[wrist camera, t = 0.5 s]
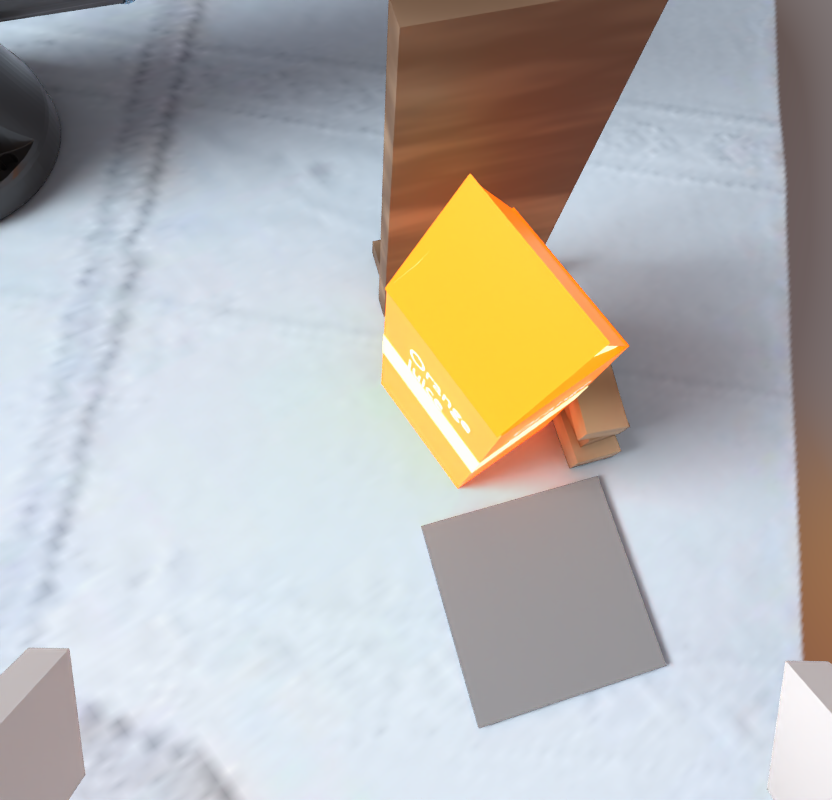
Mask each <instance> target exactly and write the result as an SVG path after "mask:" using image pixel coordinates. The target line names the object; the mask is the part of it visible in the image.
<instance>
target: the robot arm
mask: <svg viewBox="0 0 832 800" xmlns="http://www.w3.org/2000/svg"><path fill="white" fill-rule="evenodd" d="M134 1H135V0H0V22H3V21H9V20H16V19H22V18H29V17H35V16H42V15H49V14H55V13H62V12H68V11H75V10H81V9H88V8H94V7H101V6H108V5H114V4H130V3H132V2H134ZM60 138H61V130H60V122H59V117H58V114H57V111H56V109H55V106H54V104H53V102H52V100H51V99H50V97H49V96H48V94H47V93H46V91H45V90H44V88H43V86H42V85H41V83H40V82H39V80H38V79H37V77H36V76H35V75H34V73H33V72H32V71H31V70H30V69H29V68H28V66H27V65H26V64H25V63H24V62H23V61H22V60H20V59H19V58H18V57H17V56H16V55H14V54H13V53H12V52H10V51H9V50H8V49H6V48H5V47H4V46H3V45H2V44H0V220H1V219H3V218H4V217H6V216H8V215H9V214H11V213H12V212H14V211H15V210H17V209H18V208H19V207H21V206H22V205H23V204H24V203H26V202H27V201H28V200H29V199H30V198H31V197H32V196H33V195H34V194H35V193H36V192H37V191H38V190H39V188H40V187H41V186H42V185H43V183H44V182H45V180H46V179H47V177H48V176H49V174H50V172H51V170H52V168H53V166H54V164H55V161H56V159H57V156H58V152H59V147H60ZM84 776H85V769H84V761H83V753H82V745H81V737H80V729H79V721H78V713H77V705H76V697H75V689H74V681H73V673H72V665H71V658H70V650H69V648H28V649H27V650H26V651H25V652H24V653H23V654H22V655H21V656H20V657H19V658H18V659H17V660H16V661H14V662H13V663H12V664H11V665H10V666H9V667H8V668H7V669H6V670H5V671H4V672H3V673H2V674H1V675H0V800H69V799H70V797H71V796H72V794H73V793H74V791H75V790H76V788H77V787H78V785H79V784H80V782H81V780H82V779H83V777H84ZM767 790H768V792H769V794H770V795H771V797H772V798H773V800H832V665H831V664H830V663H829V662H827V661H823V662H822V661H785V668H784V675H783V682H782V688H781V695H780V702H779V709H778V716H777V723H776V729H775V736H774V743H773V750H772V757H771V764H770V770H769V777H768V784H767Z"/></svg>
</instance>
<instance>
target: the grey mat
mask: <svg viewBox="0 0 832 800" xmlns="http://www.w3.org/2000/svg"><path fill="white" fill-rule="evenodd" d="M421 528H422V531H423V535H424V538H425V542H426V545H427V549H428V552H429V556H430V559H431V563H432V566H433V570H434V573H435V577H436V581H437V584H438V588H439V591H440V595H441V598H442V602H443V605H444V609H445V612H446V616H447V619H448V623H449V626H450V630H451V633H452V637H453V640H454V644H455V648H456V651H457V655H458V658H459V662H460V665H461V669H462V672H463V676H464V679H465V683H466V686H467V690H468V693H469V697H470V700H471V704H472V707H473V711H474V715H475V718H476V722H477V725H478V728H482V727H485V726H488V725H491V724H494V723H497V722H500V721H503V720H506V719H509V718H512V717H515V716H518V715H520V714H523V713H526V712H529V711H532V710H535V709H538V708H541V707H544V706H547V705H550V704H553V703H556V702H559V701H562V700H565V699H568V698H571V697H574V696H577V695H580V694H583V693H586V692H589V691H592V690H595V689H598V688H601V687H604V686H607V685H610V684H613V683H616V682H619V681H622V680H625V679H628V678H631V677H634V676H637V675H640V674H643V673H646V672H649V671H652V670H655V669H658V668H661V667H664V666H666V663H665V660H664V657H663V655H662V652H661V649H660V646H659V644H658V641H657V638H656V635H655V633H654V630H653V627H652V624H651V622H650V619H649V616H648V613H647V610H646V608H645V605H644V602H643V599H642V597H641V594H640V591H639V588H638V586H637V583H636V580H635V577H634V575H633V572H632V569H631V566H630V564H629V561H628V558H627V555H626V553H625V550H624V547H623V544H622V542H621V539H620V536H619V533H618V531H617V528H616V525H615V522H614V520H613V517H612V514H611V511H610V508H609V506H608V503H607V500H606V497H605V495H604V492H603V489H602V486H601V484H600V481H599V478H598V476H596V477H592V478H589V479H585V480H582V481H578V482H575V483H571V484H568V485H564V486H561V487H557V488H554V489H550V490H547V491H543V492H540V493H536V494H533V495H529V496H525V497H522V498H518V499H515V500H511V501H508V502H504V503H501V504H497V505H494V506H490V507H487V508H483V509H480V510H476V511H473V512H469V513H466V514H462V515H459V516H455V517H452V518H448V519H445V520H441V521H438V522H434V523H431V524H427V525H424V526H421Z"/></svg>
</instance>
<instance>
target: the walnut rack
mask: <svg viewBox="0 0 832 800" xmlns="http://www.w3.org/2000/svg"><path fill="white" fill-rule="evenodd" d="M667 2H668V0H389V4H388V34H387V64H386V95H385V125H384V156H383V186H382V216H381V240H377V241H373V248H372V253H373V256H374V259H375V263H376V266H377V269H378V273H379V276H380V277H379V301H380V304H381V308H382V311H383V315H384V316H385V311H386V294H387V291H386V290H385V287H386V286H387V284H388V283H389V282H390V281H391V279H392V278H393V277H394V275H395V274H396V273H397V271H398V270H399V269H400V267H401V266H402V265H403V263H404V262H405V260H406V259H407V258H408V256H409V255H410V254H411V252H412V251H413V250H414V248H415V247H416V246H417V244H418V243H419V242H420V240H421V239H422V238H423V236H424V235H425V233H426V232H427V231H428V229H429V228H430V227H431V225H432V224H433V223H434V221H435V220H436V219H437V217H438V216H439V215H440V213H441V212H442V211H443V209H444V208H445V206H446V205H447V204H448V202H449V201H450V200H451V198H452V197H453V196H454V194H455V193H456V192H457V190H458V189H459V188H460V186H461V185H462V184H463V182H464V181H465V179H466V178H467V177H468V175H469V174H471V175H472V176H473V177H474V179H475V180H476V181H477V182H478V183H479V185H480V186H481V187H482V188H484V189H485V190H487V191H488V192H489V193H491V194H492V195H494V196H495V197H496V198H498V199H499V200H501V201H502V202H503V203H505V204H506V205H507V206H509V207H510V208H513V207H514V208H515V209H516V210H517V212H518V213H519V214H520V215H521V216H522V218H523V219H524V220H525V221H526V222H527V224H528V225H529V226H530V227H531V228H532V230H533V231H534V232H535V233H536V234H537V236H538V237H539V238H540V239H541V240H542V242H543V243H544V244H546V242H547V240H548V238H549V236H550V234H551V232H552V230H553V228H554V226H555V224H556V222H557V220H558V218H559V216H560V214H561V212H562V210H563V208H564V206H565V204H566V202H567V200H568V198H569V196H570V194H571V192H572V190H573V188H574V186H575V184H576V182H577V180H578V178H579V176H580V174H581V172H582V170H583V168H584V166H585V164H586V162H587V160H588V158H589V157H590V155H591V153H592V151H593V149H594V147H595V145H596V143H597V141H598V139H599V137H600V135H601V133H602V131H603V129H604V127H605V125H606V123H607V121H608V119H609V117H610V115H611V113H612V111H613V109H614V107H615V105H616V103H617V101H618V99H619V97H620V95H621V93H622V91H623V89H624V87H625V85H626V83H627V81H628V79H629V77H630V75H631V73H632V71H633V69H634V67H635V65H636V63H637V61H638V59H639V57H640V55H641V53H642V51H643V49H644V47H645V45H646V43H647V41H648V39H649V37H650V35H651V33H652V31H653V29H654V27H655V25H656V24H657V22H658V20H659V18H660V16H661V14H662V12H663V10H664V8H665V6H666V4H667ZM552 420H553V423H554V426H555V429H556V432H557V434H558V437H559V440H560V443H561V446H562V449H563V451H564V454H565V457H566V460H567V463H568V466H569V468H573V467H576V466H580V465H584V464H587V463H591V462H594V461H598V460H601V459H605V458H608V457H612V456H613V455H615V454H617V453H619V452H620V451H621V449H620V447H619V444H618V441H617V439H616V436H615V435H617V434H620V433H621V432H623V431H624V430H626V429H627V428H629V427H630V425H629V423H628V421H627V418H626V414H625V411H624V407H623V404H622V401H621V397H620V394H619V390H618V387H617V383H616V380H615V377H614V373H613V370H612V366H611V364H610V365H609V366H608V367H607V368H606V369H605V370H604V371H603V372H602V373H601V374H600V375H598V376H597V377H596V378H595V379H594V380H593V381H592V382H591V383H590V384H589V385H588V387H587V388H586V389H585V390H584V391H583V392H582V393H581V394H580V395H579V396H578V397H577V398H576V399H575V400H573V401H572V402H570V403H569V404H568V405H567V406H566V407H565V408H564V409H563V410H562V411H561V412H560V413H559V414H558V415H557V416H556V417H555V418H554V419H552Z"/></svg>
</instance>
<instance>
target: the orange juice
mask: <svg viewBox="0 0 832 800" xmlns="http://www.w3.org/2000/svg"><path fill="white" fill-rule="evenodd" d="M385 290H386V291H387V294H386V311H385V329H384V334H383V347H382V352H383V364H382V382H381V384H382V385H383V386H384V388H385V389H386V390H387V392H388V393H389V395H390V396H391V397H392V399H393V400H394V401H395V403H396V404H397V406H398V407H399V408H400V410H401V411H402V412H403V414H404V415H405V417H406V418H407V419H408V421H409V422H410V423H411V425H412V426H413V428H414V429H415V430H416V432H417V433H418V435H419V436H420V437H421V439H422V440H423V441H424V443H425V444H426V446H427V447H428V448H429V450H430V451H431V452H432V454H433V455H434V457H435V458H436V459H437V461H438V462H439V463H440V465H441V466H442V468H443V469H444V470H445V472H446V473H447V474H448V476H449V477H450V479H451V480H452V481H453V483H454V484H455V485H456V487H457V488H460V487H461V486H462V485H464V484H465V483H467V482H468V481H469V480H471V479H472V478H474V477H475V476H476V475H478V474H479V473H481V472H482V471H483V470H485V469H486V468H488V467H489V466H490V465H492V464H493V463H494V462H496V461H497V460H499V459H500V458H501V457H503V456H504V455H506V454H507V453H508V452H510V451H511V450H513V449H514V448H515V447H517V446H518V445H520V444H521V443H522V442H524V441H525V440H527V439H528V438H529V437H531V436H532V435H534V434H535V433H536V432H538V431H539V430H541V429H542V428H543V427H545V426H546V425H547V424H548V423H549V422H550V421H551V420H552V419H554V418H555V417H556V416H557V415H558V414H559V413H560V412H561V411H562V410H563V409H564V408H565V407H566V406H567V405H568V404H569V403H570V402H572V401H573V400H575V399H576V398H577V397H578V396H579V395H580V394H581V393H582V392H583V391H584V390H585V389H586V388H587V387H588V385H589V384H590V383H591V382H592V381H593V380H594V379H595V378H596V377H597V376H598V375H600V374H601V373H602V372H603V371H604V370H605V369H606V368H607V367H608V366H609V365H610V364H611V363H612V362H613V361H614V360H615V359H616V358H617V357H618V356H619V355H620V354H621V353H623V352H624V351H625V350H626V349H627V348H628V347H629V345H628V344H627V342H626V341H625V340H624V339H623V338H622V336H621V335H620V334H619V333H618V332H617V330H616V329H615V328H614V327H613V326H612V324H611V323H610V322H609V321H608V320H607V318H606V317H605V316H604V315H603V314H602V312H601V311H600V310H599V309H598V308H597V306H596V305H595V304H594V303H593V302H592V300H591V299H590V298H589V297H588V296H587V294H586V293H585V292H584V291H583V290H582V288H581V287H580V286H579V285H578V284H577V282H576V281H575V280H574V279H573V278H572V276H571V275H570V274H569V273H568V272H567V270H566V269H565V268H564V267H563V266H562V264H561V263H560V262H559V261H558V260H557V258H556V257H555V256H554V255H553V254H552V252H551V251H550V250H549V249H548V248H547V246H546V245H545V244H544V243H543V242H542V240H541V239H540V238H539V237H538V236H537V234H536V233H535V232H534V231H533V230H532V228H531V227H530V226H529V225H528V224H527V222H526V221H525V220H524V219H523V218H522V216H521V215H520V214H519V213H518V212H517V210H516V209H515V208H514V207H513V208H510V207H509V206H507V205H506V204H505V203H503V202H502V201H501V200H499V199H498V198H496V197H495V196H494V195H492V194H491V193H489V192H488V191H487V190H485V189H484V188H482V187H481V186H480V185H479V183H478V182H477V181H476V180H475V179H474V177H473V176H472V175H471V174H469V175H468V177H467V178H466V179H465V181H464V182H463V184H462V185H461V186H460V188H459V189H458V190H457V192H456V193H455V194H454V196H453V197H452V198H451V200H450V201H449V202H448V204H447V205H446V206H445V208H444V209H443V211H442V212H441V213H440V215H439V216H438V217H437V219H436V220H435V221H434V223H433V224H432V225H431V227H430V228H429V229H428V231H427V232H426V233H425V235H424V236H423V238H422V239H421V240H420V242H419V243H418V244H417V246H416V247H415V248H414V250H413V251H412V252H411V254H410V255H409V256H408V258H407V259H406V260H405V262H404V263H403V265H402V266H401V267H400V269H399V270H398V271H397V273H396V274H395V275H394V277H393V278H392V279H391V281H390V282H389V283H388V284H387V286H386V287H385Z"/></svg>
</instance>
